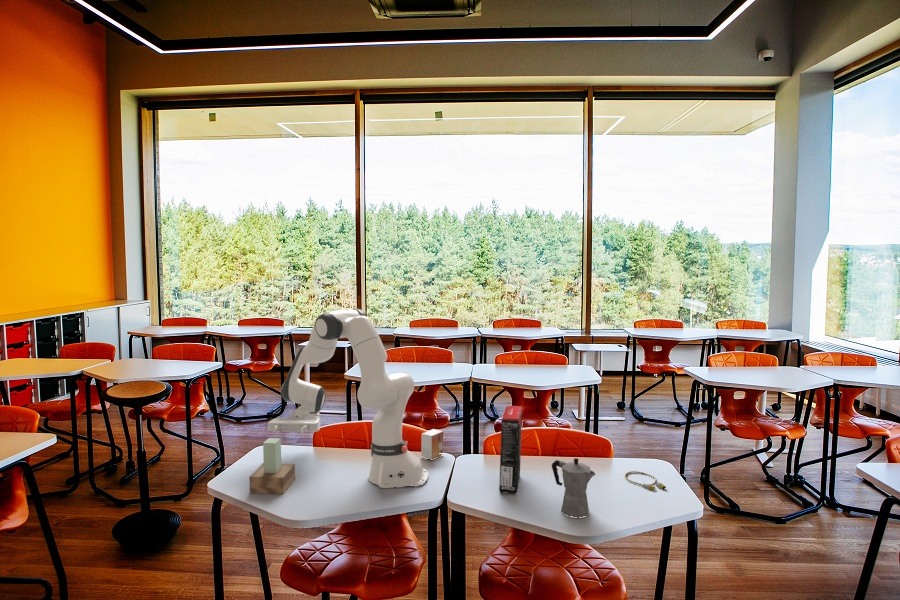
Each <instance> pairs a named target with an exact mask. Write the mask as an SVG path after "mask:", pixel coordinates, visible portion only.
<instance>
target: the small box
mask: <svg viewBox="0 0 900 600" xmlns="http://www.w3.org/2000/svg"><path fill="white" fill-rule="evenodd" d="M420 447H421V453H420V455H421V456H423V457H425V458H429V459H434V458H436V459H438V458H437V457H439V458H441V457H442V456H441V455H442V454H439V453H443V454H444V431H443V430H440V429H435V428H432V429H429V430H427V431H426V432H422V433H421V445H420ZM421 456H420V457H421ZM440 456H441V457H440ZM434 460H435V459H434Z"/></svg>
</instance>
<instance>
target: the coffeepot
mask: <svg viewBox="0 0 900 600" xmlns="http://www.w3.org/2000/svg"><path fill="white" fill-rule="evenodd" d="M579 461H580V459H579V458H573V461H571V462H570V461H569V462H566V461H562V460H558V459H555V460H554V461H553V462H552V463H551V468H552V469H551V470H552V472H553V475H554V480H555V483H556V485H557V486H561V487H562V486H563V487H564V493H563V494H564V495H563V499H562V505H561V509H560V510H561V511H560V512H561V513H562V512H563V513H564V514H566V515H568V516H573V517H583V516H586V517H588V516H589V513H590V509H589V501H588V495H587V489H588V484H589V483H590V480H591V479H592V478H593V477H594V476H596V472H594V470H591V466H589V465H586V464H585V463H583V462H579ZM558 467H559V468H561V472H562V473H561V474H562V479H563V481H562V482H560V475H559V472H558ZM563 513H562V514H563ZM564 514H563V515H564ZM566 515H565V516H566ZM568 516H567V517H568Z"/></svg>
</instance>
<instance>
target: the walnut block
mask: <svg viewBox="0 0 900 600" xmlns="http://www.w3.org/2000/svg"><path fill="white" fill-rule="evenodd" d="M248 478H249V480H248V481H249V493H250V492H252V493H251V494H259V493H264V495H265V494H267V495H284V494H285V493H286V492H287V491H288V489H289V488H290V487H291V486H292V484H293V483H294V482H295V481H296V464H295V463H293V464H292V463H281V469H280V470H279V471H278V472H277V473H264V462H263V463H262V464H261V465H260V466H259V467H258V468H257V469H255V471H254V472H253V473H251V474H250V475H249V477H248Z"/></svg>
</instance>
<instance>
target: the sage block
mask: <svg viewBox="0 0 900 600" xmlns="http://www.w3.org/2000/svg"><path fill="white" fill-rule="evenodd" d="M262 445H263V446H262V449H263V453H262V454H263V463H264V473H277V472H278V471H279V470H280V469H281V464H282V438H277V437H269V438H267V439H266V440H264V441H263V443H262Z"/></svg>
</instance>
